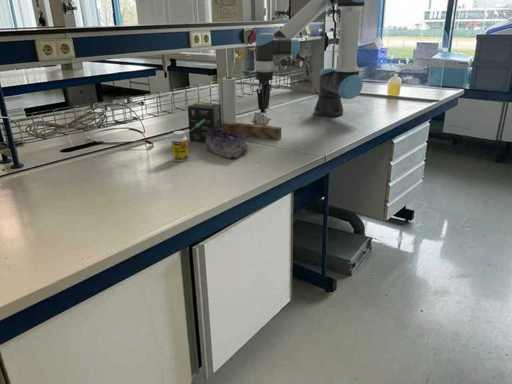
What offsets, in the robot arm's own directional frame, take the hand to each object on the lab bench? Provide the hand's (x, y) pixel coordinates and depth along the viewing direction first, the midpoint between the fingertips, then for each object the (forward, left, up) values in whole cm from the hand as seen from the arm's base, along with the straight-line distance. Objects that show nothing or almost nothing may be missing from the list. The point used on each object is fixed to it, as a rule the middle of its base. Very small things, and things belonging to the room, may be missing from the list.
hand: (263, 122), depth 194 cm
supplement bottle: (+12, +54, -2) cm, 56 cm away
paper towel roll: (+17, 0, -2) cm, 17 cm away
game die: (0, +5, -2) cm, 5 cm away
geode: (+1, +41, -2) cm, 41 cm away
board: (-1, +17, -2) cm, 17 cm away
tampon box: (+15, +28, -2) cm, 32 cm away
